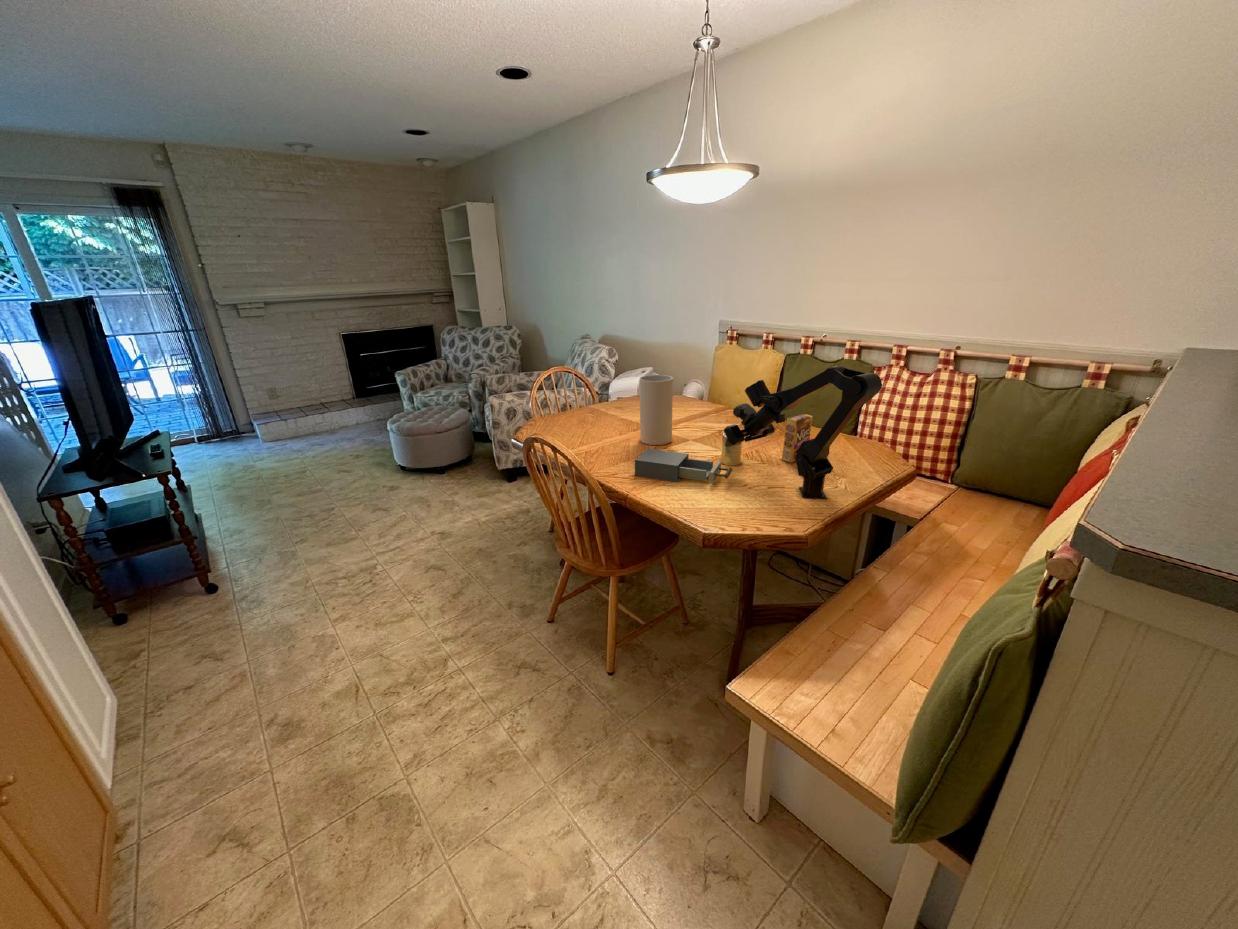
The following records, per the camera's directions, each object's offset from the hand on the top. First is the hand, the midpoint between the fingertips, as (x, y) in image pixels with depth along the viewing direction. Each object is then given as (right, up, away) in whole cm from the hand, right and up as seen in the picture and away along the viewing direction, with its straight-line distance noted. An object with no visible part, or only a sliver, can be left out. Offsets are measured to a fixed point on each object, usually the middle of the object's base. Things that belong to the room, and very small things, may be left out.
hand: (735, 443), depth 162 cm
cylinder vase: (-25, +2, +28) cm, 37 cm away
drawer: (-13, -11, -9) cm, 19 cm away
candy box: (+22, -5, +5) cm, 23 cm away
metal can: (-1, -6, +4) cm, 7 cm away
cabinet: (-25, -10, -3) cm, 27 cm away
